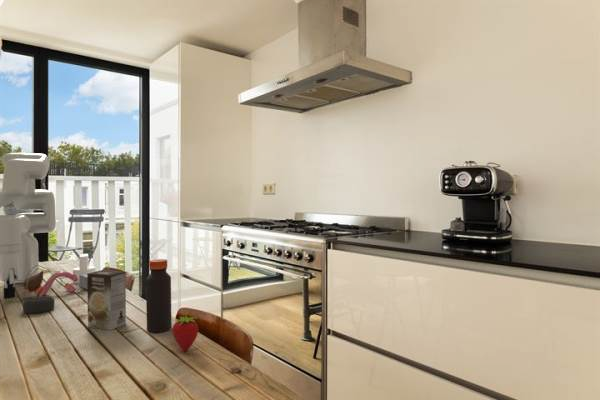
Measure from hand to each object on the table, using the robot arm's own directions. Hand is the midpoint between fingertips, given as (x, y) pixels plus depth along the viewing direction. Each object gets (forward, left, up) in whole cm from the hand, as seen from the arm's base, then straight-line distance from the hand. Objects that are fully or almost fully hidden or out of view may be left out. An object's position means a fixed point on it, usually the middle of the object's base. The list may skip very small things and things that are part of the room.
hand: (9, 297), depth 143 cm
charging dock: (+1, +26, -1) cm, 27 cm away
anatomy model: (0, +14, -1) cm, 14 cm away
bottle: (+72, +23, -1) cm, 76 cm away
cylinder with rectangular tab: (-16, +30, -1) cm, 34 cm away
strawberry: (+92, +20, -1) cm, 94 cm away
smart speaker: (+23, +4, -2) cm, 23 cm away
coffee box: (+57, +14, -1) cm, 59 cm away
